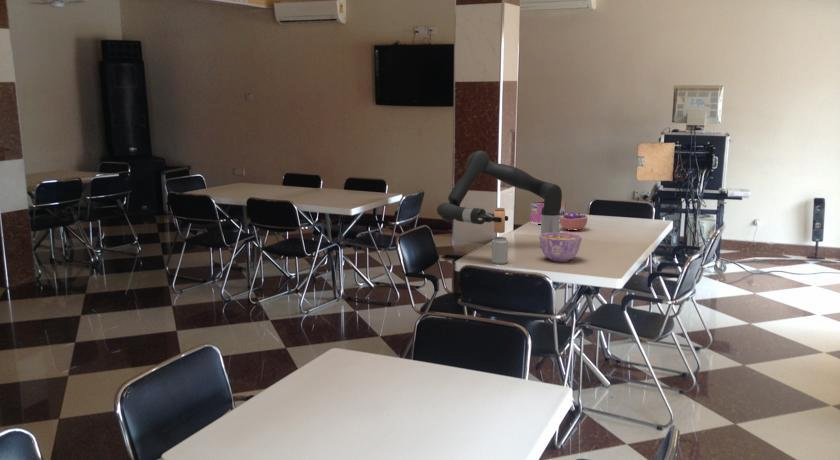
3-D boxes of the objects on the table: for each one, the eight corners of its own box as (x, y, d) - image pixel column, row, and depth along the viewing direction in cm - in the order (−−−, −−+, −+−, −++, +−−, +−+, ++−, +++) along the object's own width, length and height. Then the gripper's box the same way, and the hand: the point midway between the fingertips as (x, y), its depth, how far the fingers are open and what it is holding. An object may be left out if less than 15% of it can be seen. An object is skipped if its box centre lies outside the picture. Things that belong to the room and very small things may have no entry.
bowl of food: (554, 265, 320) (554, 241, 318) (530, 257, 338) (530, 234, 336) (589, 262, 328) (590, 237, 326) (564, 254, 346) (565, 231, 344)
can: (490, 261, 330) (490, 236, 328) (505, 261, 330) (506, 236, 328) (493, 264, 322) (493, 239, 320) (509, 264, 323) (509, 238, 321)
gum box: (559, 220, 452) (559, 200, 450) (567, 222, 446) (568, 201, 443) (529, 223, 441) (530, 202, 439) (537, 225, 434) (538, 203, 432)
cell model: (592, 229, 420) (592, 210, 418) (580, 233, 404) (581, 214, 402) (565, 226, 429) (565, 208, 427) (553, 231, 413) (553, 212, 411)
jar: (503, 231, 327) (503, 207, 325) (505, 232, 322) (506, 209, 320) (492, 231, 327) (493, 207, 325) (495, 233, 322) (495, 209, 320)
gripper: (465, 209, 326) (496, 212, 316) (482, 206, 337) (513, 209, 327) (465, 225, 327) (495, 229, 317) (482, 221, 338) (512, 225, 328)
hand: (504, 219), depth 322 cm, fingers closed on jar, 5 cm apart
